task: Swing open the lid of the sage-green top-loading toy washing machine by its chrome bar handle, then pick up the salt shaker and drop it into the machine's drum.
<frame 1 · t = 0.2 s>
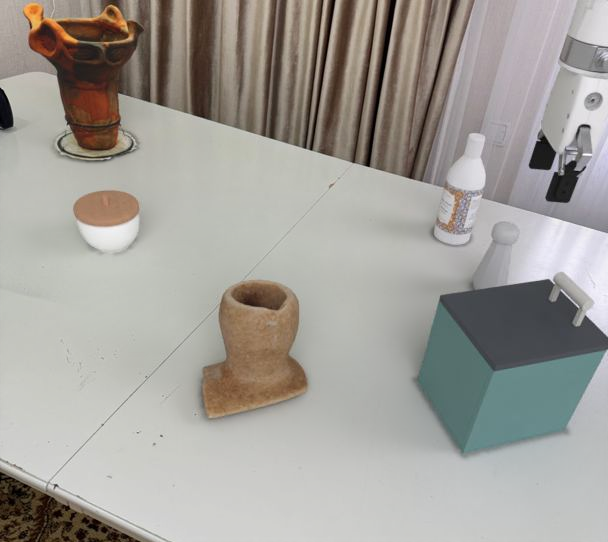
hand: (547, 184, 87), 23 cm above the table, tool pointing down, fingers open, 9 cm apart
bath foam: (450, 237, 120), on the table
decorative vase: (100, 144, 140), on the table
salt shaker: (485, 292, 107), on the table
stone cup: (249, 386, 87), on the table
trinket box: (112, 245, 110), on the table
washer: (488, 406, 87), on the table
washer lid: (529, 308, 75), point 17 cm above the table, hinge at 0.0°
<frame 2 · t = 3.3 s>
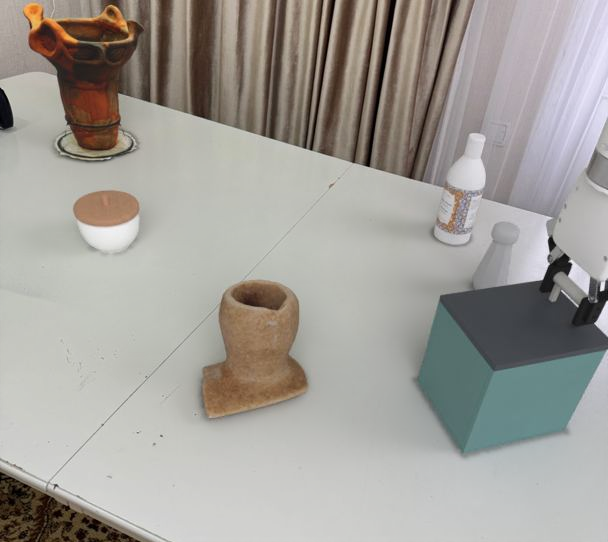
hand: (566, 305, 77), 17 cm above the table, tool pointing down, fingers closed on washer lid, 6 cm apart
washer lid: (529, 308, 75), point 17 cm above the table, hinge at 0.0°, touching gripper
everything else where it was.
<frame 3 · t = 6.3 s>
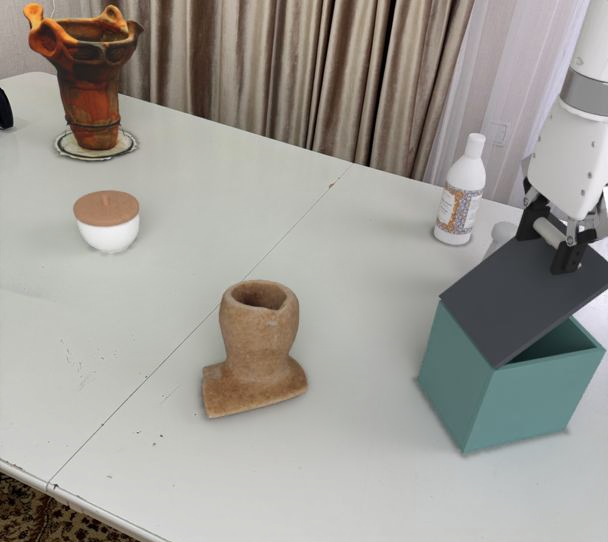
hand: (544, 253, 70), 25 cm above the table, tool pointing down, fingers closed on washer lid, 6 cm apart
washer lid: (516, 278, 71), point 22 cm above the table, hinge at 41.9°, touching gripper
everything else where it was.
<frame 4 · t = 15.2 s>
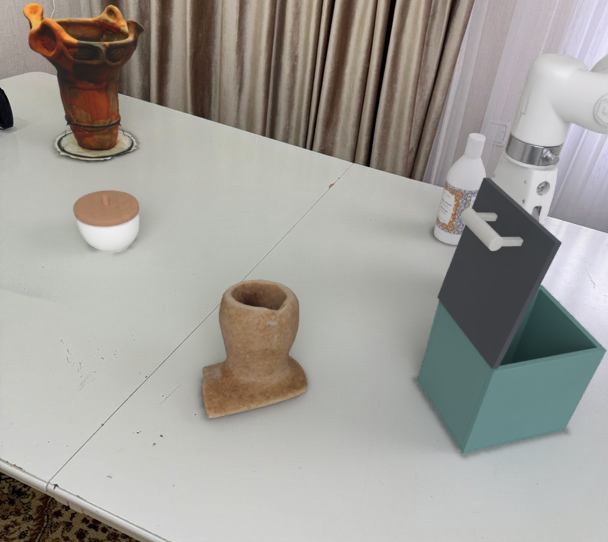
hand: (498, 254, 102), 8 cm above the table, tool pointing down, fingers closed on salt shaker, 4 cm apart
salt shaker: (485, 292, 107), on the table, touching gripper
washer lid: (475, 274, 68), point 24 cm above the table, hinge at 83.3°
everything else where it was.
when the fingers open (21 cm above the table, at t = 22.2 s): salt shaker drops 13 cm, resting on washer.
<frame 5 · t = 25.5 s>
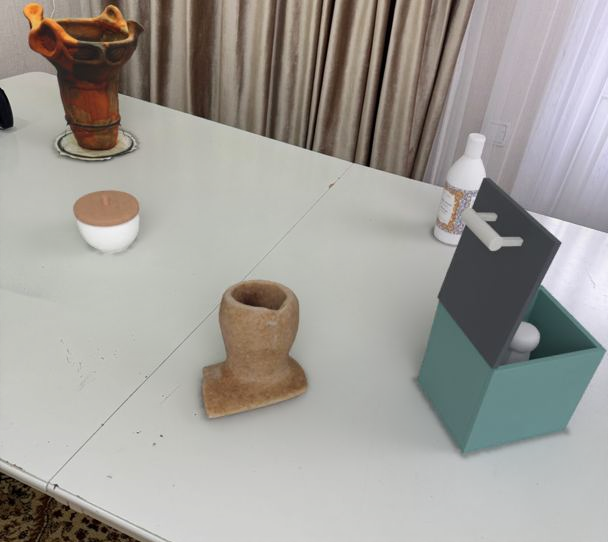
salt shaker: (495, 400, 87), point 1 cm above the table, touching washer
everything else where it was.
at the end: washer lid at +83° (first picture: +0°); salt shaker inside the target area in the washer (1.1 cm from its centre), point 0.6 cm above the washer's base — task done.
